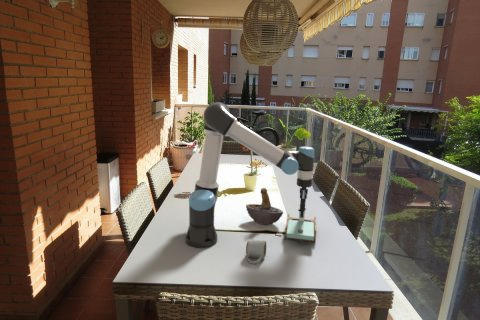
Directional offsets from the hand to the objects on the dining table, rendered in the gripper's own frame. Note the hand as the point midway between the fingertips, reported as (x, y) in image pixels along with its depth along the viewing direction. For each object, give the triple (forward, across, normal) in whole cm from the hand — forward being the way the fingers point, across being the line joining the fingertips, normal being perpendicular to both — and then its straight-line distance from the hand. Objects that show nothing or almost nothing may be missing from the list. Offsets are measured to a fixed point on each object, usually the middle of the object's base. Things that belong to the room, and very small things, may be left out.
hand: (301, 222), depth 177 cm
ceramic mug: (+6, -32, +18) cm, 37 cm away
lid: (+1, -9, 0) cm, 9 cm away
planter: (+6, +7, +20) cm, 22 cm away
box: (+5, -1, 0) cm, 6 cm away
